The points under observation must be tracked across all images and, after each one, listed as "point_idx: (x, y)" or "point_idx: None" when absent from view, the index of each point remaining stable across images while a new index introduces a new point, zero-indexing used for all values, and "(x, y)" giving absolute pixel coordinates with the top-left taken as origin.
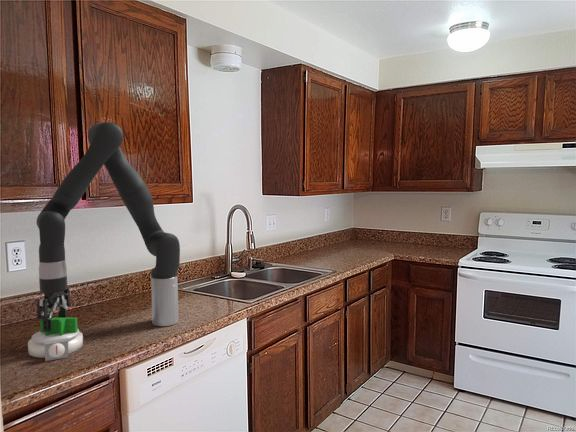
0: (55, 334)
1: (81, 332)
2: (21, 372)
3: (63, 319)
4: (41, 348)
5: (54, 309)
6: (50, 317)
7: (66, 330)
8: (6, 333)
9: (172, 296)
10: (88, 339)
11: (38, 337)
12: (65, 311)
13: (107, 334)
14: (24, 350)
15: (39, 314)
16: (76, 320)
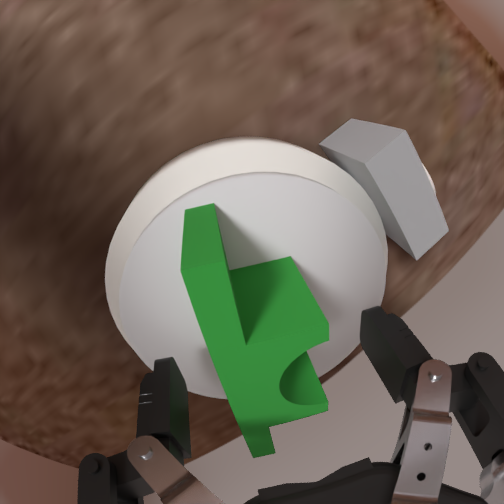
0: None
1: (119, 223)
2: (466, 214)
3: (271, 347)
4: (385, 263)
5: (426, 433)
6: (437, 371)
7: (231, 277)
8: None
9: None
10: (93, 189)
11: (330, 347)
12: (164, 428)
13: (6, 143)
14: None
15: (479, 411)
16: (194, 253)
